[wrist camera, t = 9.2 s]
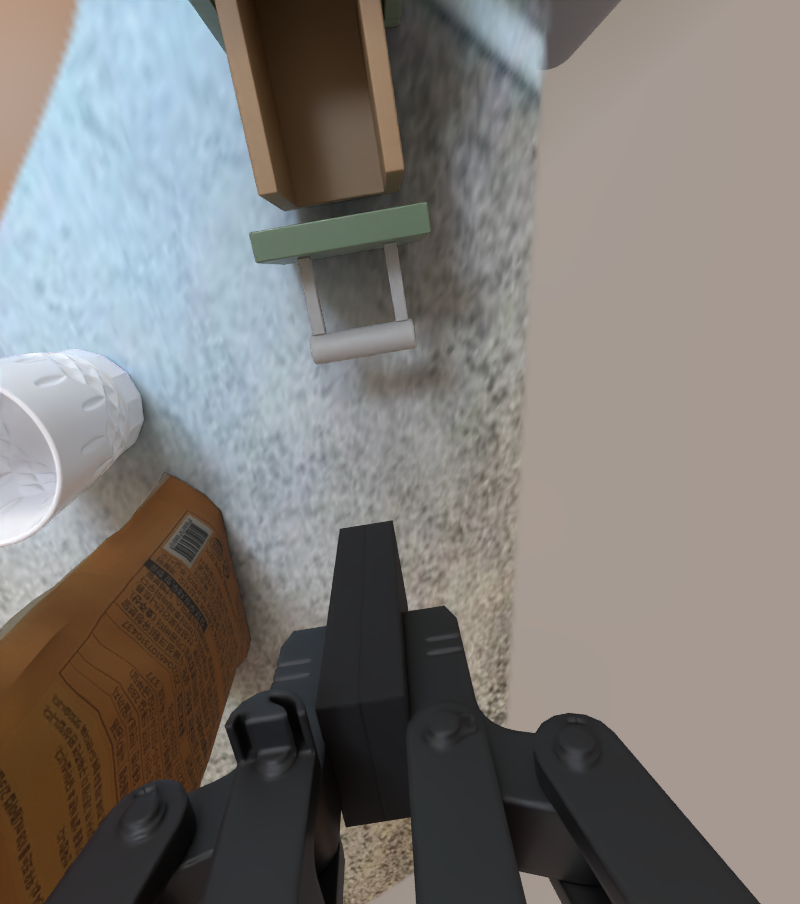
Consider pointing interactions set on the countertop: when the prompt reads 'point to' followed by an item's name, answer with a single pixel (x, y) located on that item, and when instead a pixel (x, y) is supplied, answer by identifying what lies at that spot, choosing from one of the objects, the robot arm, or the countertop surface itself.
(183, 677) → the pancake mix bag
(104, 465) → the white cup
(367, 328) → the drawer
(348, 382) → the countertop surface
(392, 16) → the cabinet
